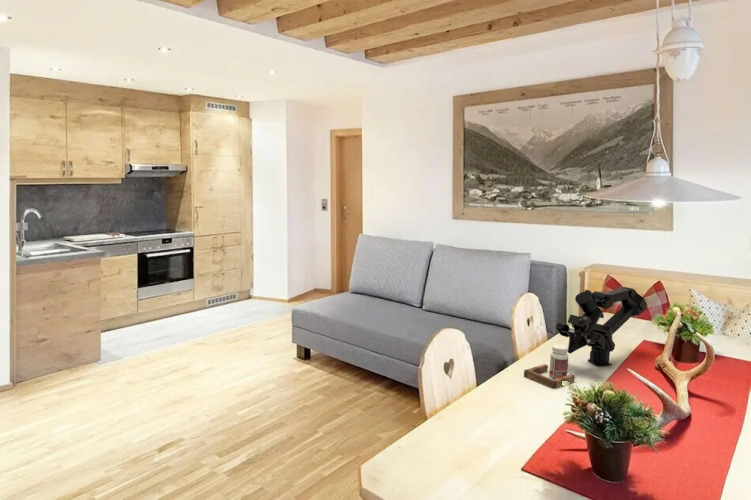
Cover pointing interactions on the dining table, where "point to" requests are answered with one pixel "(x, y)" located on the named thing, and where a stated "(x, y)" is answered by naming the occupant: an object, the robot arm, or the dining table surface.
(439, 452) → the dining table surface
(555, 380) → the brown wooden tray
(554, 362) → the pill bottle
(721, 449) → the dining table surface
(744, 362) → the dining table surface
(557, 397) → the dining table surface
